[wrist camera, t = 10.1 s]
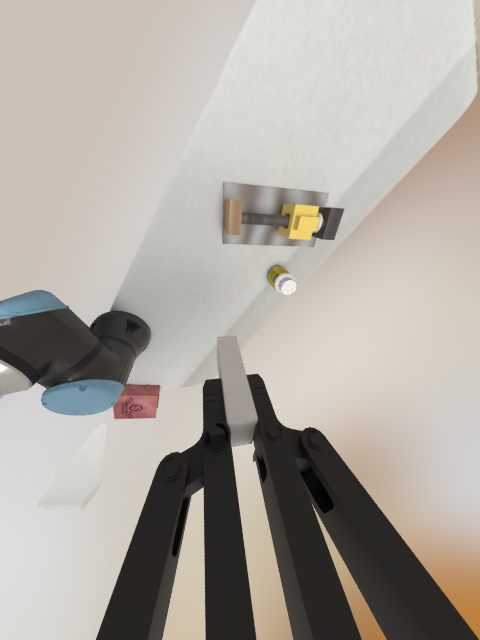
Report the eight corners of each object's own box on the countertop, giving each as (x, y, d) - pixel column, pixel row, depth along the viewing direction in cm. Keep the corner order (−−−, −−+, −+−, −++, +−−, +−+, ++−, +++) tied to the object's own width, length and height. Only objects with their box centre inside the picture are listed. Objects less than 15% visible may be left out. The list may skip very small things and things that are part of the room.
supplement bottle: (268, 264, 49) (281, 276, 41) (286, 265, 50) (302, 277, 42) (264, 282, 52) (276, 297, 44) (281, 283, 53) (296, 297, 45)
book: (160, 383, 68) (157, 394, 64) (157, 406, 75) (155, 417, 71) (117, 382, 63) (111, 394, 59) (119, 406, 71) (114, 419, 66)
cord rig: (222, 243, 44) (227, 251, 36) (223, 182, 37) (229, 177, 30) (312, 246, 48) (332, 254, 41) (327, 193, 42) (353, 191, 35)
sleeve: (278, 234, 41) (292, 240, 35) (283, 204, 38) (300, 204, 31) (297, 235, 42) (315, 241, 36) (304, 205, 39) (325, 206, 32)
